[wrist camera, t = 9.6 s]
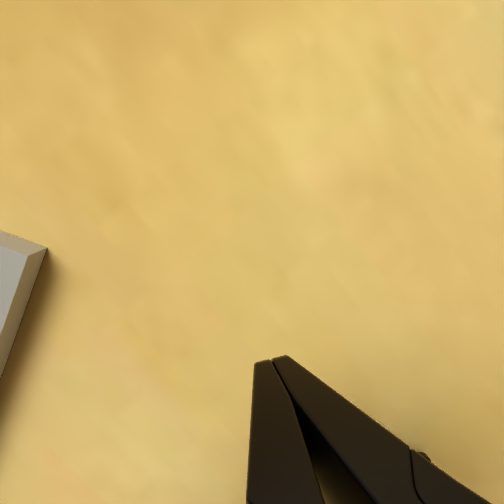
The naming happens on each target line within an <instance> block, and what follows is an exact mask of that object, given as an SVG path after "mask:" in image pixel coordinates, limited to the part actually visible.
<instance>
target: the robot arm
mask: <svg viewBox="0 0 504 504" xmlns="http://www.w3.org/2000/svg"><path fill="white" fill-rule="evenodd" d="M246 504H491V503H490V502H488V501H487V500H485V499H483V498H482V497H480V496H479V495H477V494H476V493H474V492H473V491H471V490H470V489H468V488H467V487H465V486H464V485H462V484H461V483H459V482H458V481H456V480H455V479H453V478H452V477H451V476H449V475H448V474H446V473H445V472H444V471H442V470H441V469H439V468H438V467H437V466H435V465H434V464H432V463H431V460H430V459H429V457H428V456H427V455H426V454H425V453H422V452H416V451H415V450H414V449H411V450H410V447H409V446H408V445H407V444H405V443H404V442H403V441H401V440H400V439H399V438H397V437H396V436H395V435H393V434H392V433H391V432H389V431H388V430H387V429H385V428H384V427H383V426H381V425H380V424H379V423H377V422H376V421H375V420H373V419H372V418H371V417H369V416H368V415H367V414H365V413H364V412H363V411H361V410H360V409H359V408H357V407H356V406H355V405H353V404H352V403H351V402H349V401H348V400H347V399H345V398H344V397H343V396H341V395H340V394H339V393H337V392H336V391H335V390H333V389H332V388H331V387H329V386H328V385H327V384H325V383H324V382H323V381H321V380H320V379H319V378H317V377H316V376H315V375H313V374H312V373H310V372H309V371H308V370H306V369H305V368H304V367H302V366H301V365H300V364H298V363H297V362H296V361H294V360H293V359H292V358H290V357H289V356H287V355H284V356H280V357H276V358H273V359H272V360H269V359H268V360H263V361H259V362H256V363H255V364H254V374H253V390H252V407H251V423H250V440H249V457H248V473H247V490H246Z"/></svg>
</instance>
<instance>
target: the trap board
mask: <svg viewBox="0 0 504 504" xmlns="http://www.w3.org/2000/svg"><path fill="white" fill-rule="evenodd" d="M46 250H47V248H46V247H43V246H41V245H38V244H35V243H32V242H30V241H27V240H24V239H22V238H19V237H16V236H13V235H11V234H8V233H5V232H3V231H0V379H1V376H2V373H3V370H4V367H5V364H6V362H7V359H8V356H9V353H10V350H11V348H12V345H13V342H14V339H15V336H16V334H17V331H18V328H19V325H20V322H21V320H22V317H23V314H24V311H25V308H26V306H27V303H28V300H29V297H30V294H31V292H32V289H33V286H34V283H35V280H36V278H37V275H38V272H39V269H40V266H41V264H42V261H43V258H44V255H45V252H46Z"/></svg>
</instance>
